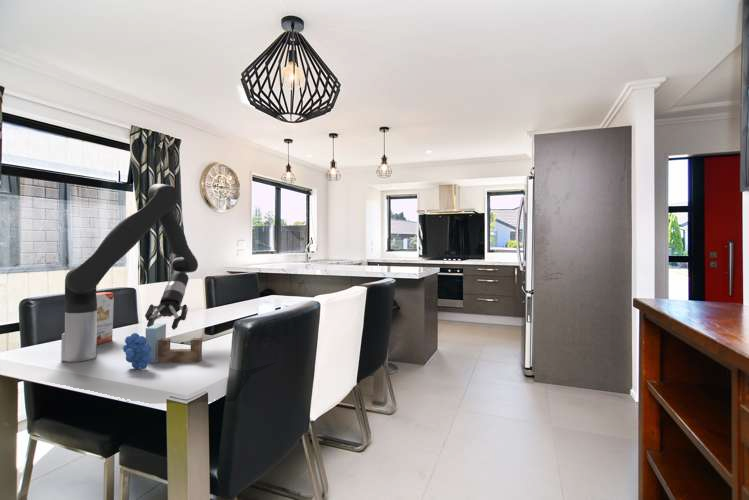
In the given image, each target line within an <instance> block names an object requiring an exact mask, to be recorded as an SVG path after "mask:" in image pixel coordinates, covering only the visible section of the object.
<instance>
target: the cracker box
mask: <svg viewBox="0 0 749 500" xmlns="http://www.w3.org/2000/svg"><path fill="white" fill-rule="evenodd" d="M96 298H97V342H96V345H98V344H99V345H100V344H103V343H107V342H111V341H113V329H114V303H115V300H114V299H115V292H108V291H107V292H106V291H105V292H104V291H103V292H96Z"/></svg>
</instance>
